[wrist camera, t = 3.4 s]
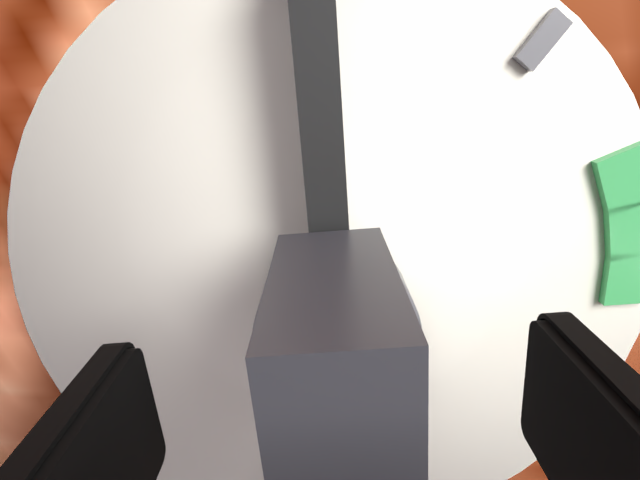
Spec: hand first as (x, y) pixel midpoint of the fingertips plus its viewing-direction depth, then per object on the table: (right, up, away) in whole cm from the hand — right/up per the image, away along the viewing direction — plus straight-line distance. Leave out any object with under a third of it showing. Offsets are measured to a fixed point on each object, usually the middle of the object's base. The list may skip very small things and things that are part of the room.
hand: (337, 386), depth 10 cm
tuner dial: (0, +2, +6) cm, 6 cm away
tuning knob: (0, +4, +3) cm, 5 cm away
